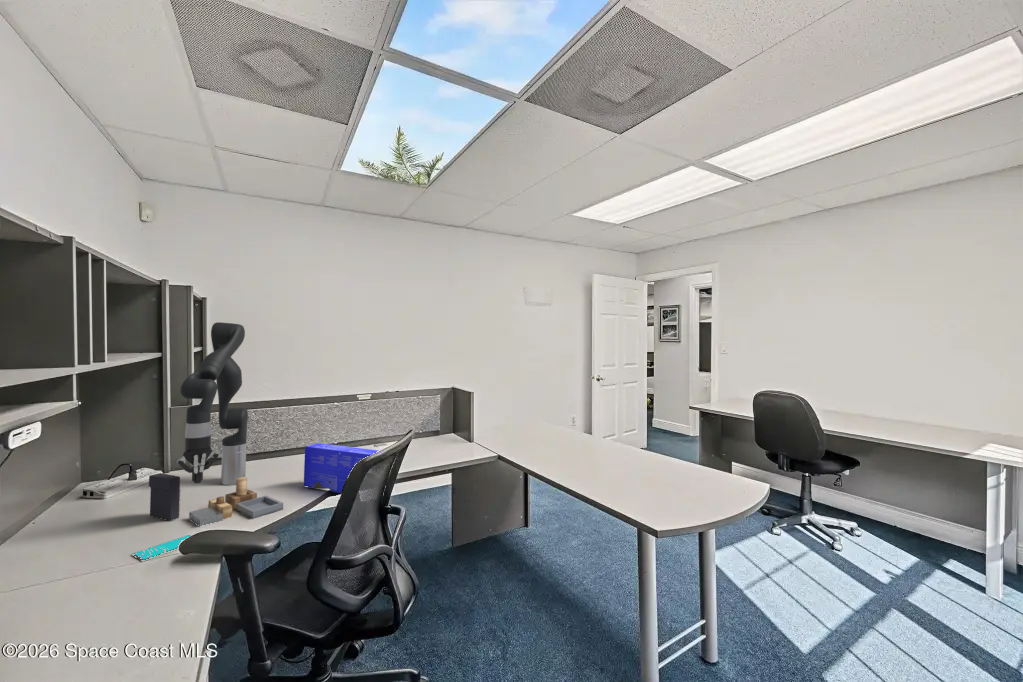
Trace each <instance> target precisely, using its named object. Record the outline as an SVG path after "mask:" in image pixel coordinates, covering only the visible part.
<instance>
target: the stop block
mask: <svg viewBox="0 0 1023 682" xmlns="http://www.w3.org/2000/svg"><path fill="white" fill-rule="evenodd" d="M207 504H208V507H211V506H212V507H214V508H215V509H217V510H218V511H220V512H222V513H223V520H225V519H228V517H229V518H232V517H233V508H232V505H230V504H228V503H226V502H225V496H218V497H216V498H212V499H209V500H208V503H207ZM231 516H232V517H231Z"/></svg>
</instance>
